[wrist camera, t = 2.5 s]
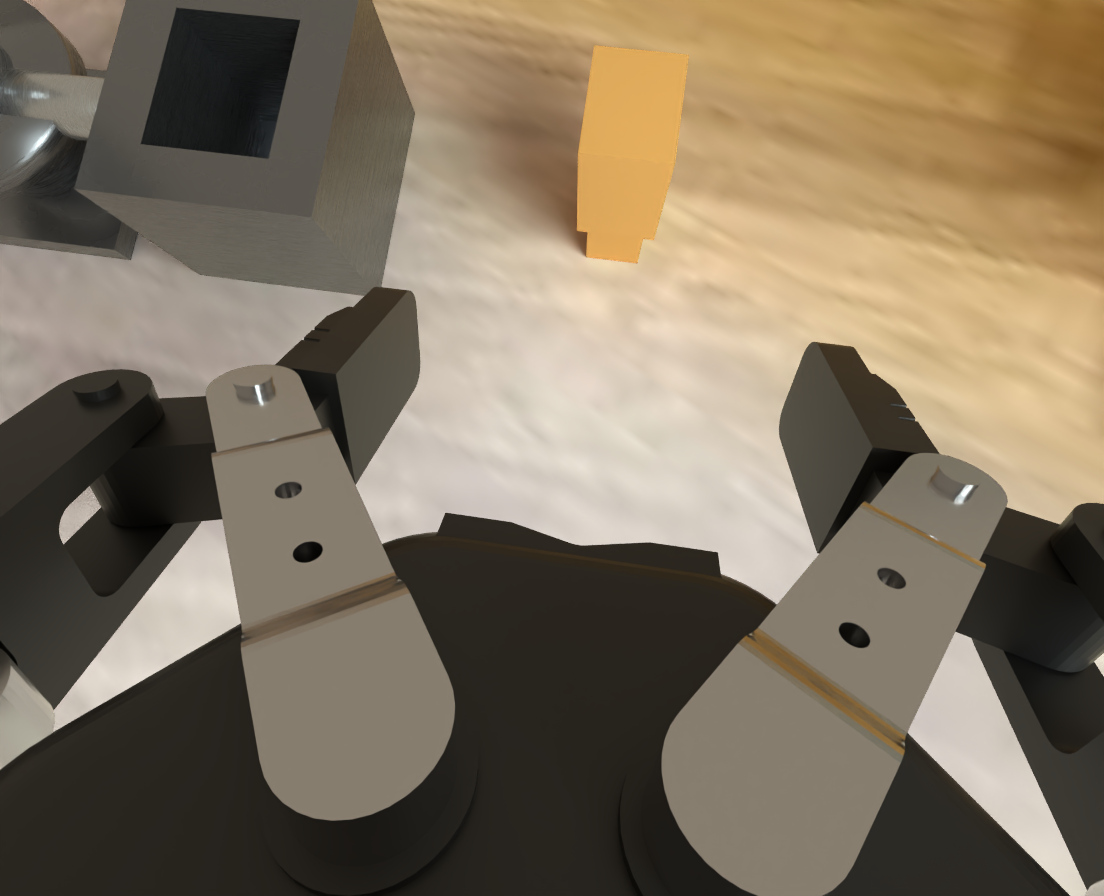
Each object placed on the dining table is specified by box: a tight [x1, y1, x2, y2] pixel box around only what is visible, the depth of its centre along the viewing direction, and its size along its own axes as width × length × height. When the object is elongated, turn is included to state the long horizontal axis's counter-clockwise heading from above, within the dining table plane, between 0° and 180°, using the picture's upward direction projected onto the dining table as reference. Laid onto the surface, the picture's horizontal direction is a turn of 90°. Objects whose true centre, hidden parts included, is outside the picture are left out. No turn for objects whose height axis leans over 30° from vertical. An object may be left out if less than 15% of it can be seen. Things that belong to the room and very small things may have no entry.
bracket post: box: [0, 0, 415, 296], centre depth 19 cm, size 21×10×18 cm, turn 82°
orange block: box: [577, 45, 689, 263], centre depth 23 cm, size 3×4×8 cm
